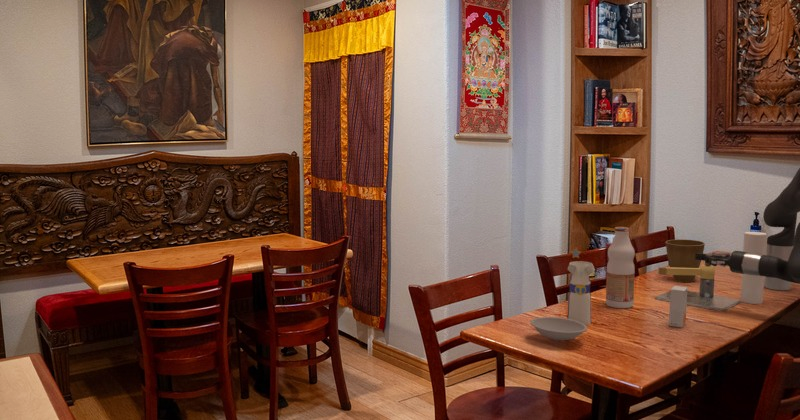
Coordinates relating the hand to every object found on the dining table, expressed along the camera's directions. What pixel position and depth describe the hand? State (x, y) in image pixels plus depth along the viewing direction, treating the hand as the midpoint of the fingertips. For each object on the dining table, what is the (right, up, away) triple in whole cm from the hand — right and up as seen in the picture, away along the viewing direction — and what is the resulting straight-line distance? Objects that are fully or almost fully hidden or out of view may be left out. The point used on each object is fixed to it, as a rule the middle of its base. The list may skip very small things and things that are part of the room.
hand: (696, 256), depth 243 cm
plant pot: (+12, -13, +40) cm, 43 cm away
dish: (-58, -23, -39) cm, 73 cm away
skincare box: (-16, -21, -23) cm, 35 cm away
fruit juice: (-27, -18, +1) cm, 32 cm away
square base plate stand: (+3, -17, +6) cm, 18 cm away
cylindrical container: (+22, -17, +5) cm, 29 cm away
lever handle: (+1, -9, +10) cm, 13 cm away
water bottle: (-46, -20, -19) cm, 54 cm away
